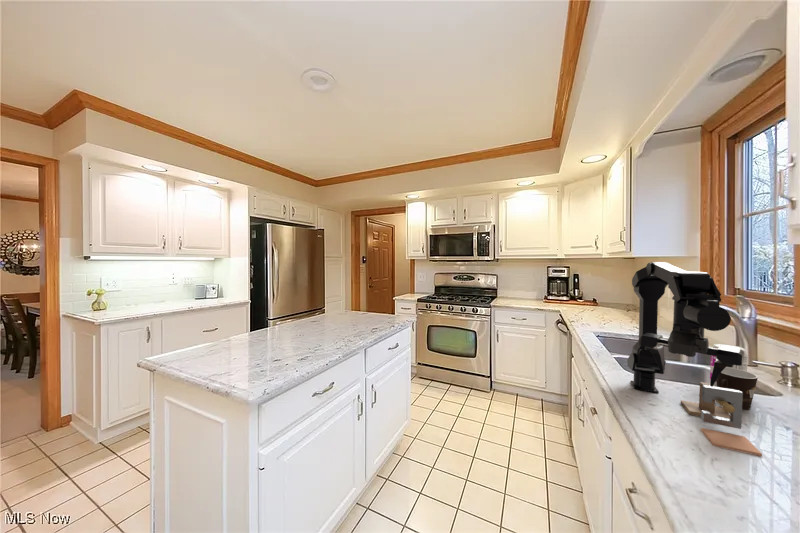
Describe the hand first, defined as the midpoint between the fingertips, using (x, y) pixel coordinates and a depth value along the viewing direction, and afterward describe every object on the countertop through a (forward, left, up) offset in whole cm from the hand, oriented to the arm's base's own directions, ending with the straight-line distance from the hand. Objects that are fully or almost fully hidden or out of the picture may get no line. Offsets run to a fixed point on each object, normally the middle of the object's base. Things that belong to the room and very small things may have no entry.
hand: (686, 379), depth 75 cm
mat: (+1, +8, -14) cm, 16 cm away
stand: (-10, +9, -14) cm, 19 cm away
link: (-5, +9, -12) cm, 16 cm away
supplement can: (-36, +21, -14) cm, 44 cm away
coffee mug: (-24, +17, -14) cm, 33 cm away
